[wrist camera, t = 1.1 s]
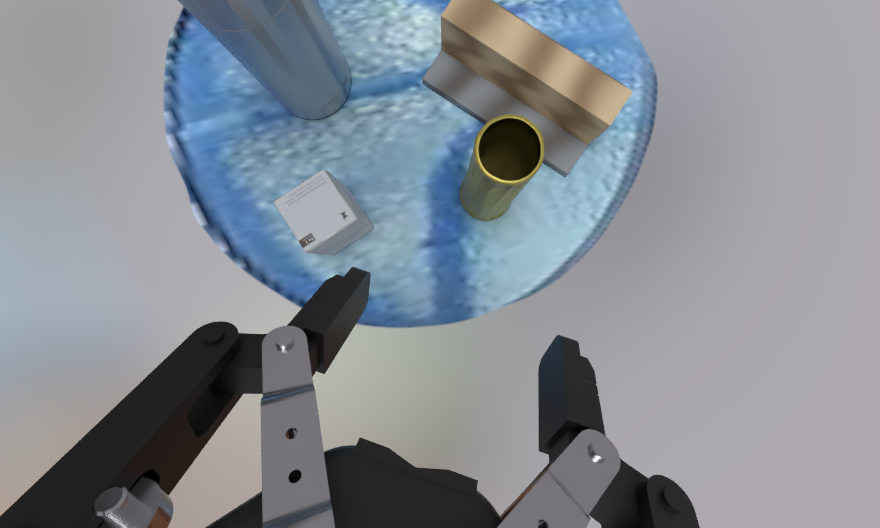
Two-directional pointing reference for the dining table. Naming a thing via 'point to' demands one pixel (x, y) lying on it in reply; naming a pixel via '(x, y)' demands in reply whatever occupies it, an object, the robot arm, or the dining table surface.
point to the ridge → (522, 79)
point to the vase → (501, 165)
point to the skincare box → (323, 214)
